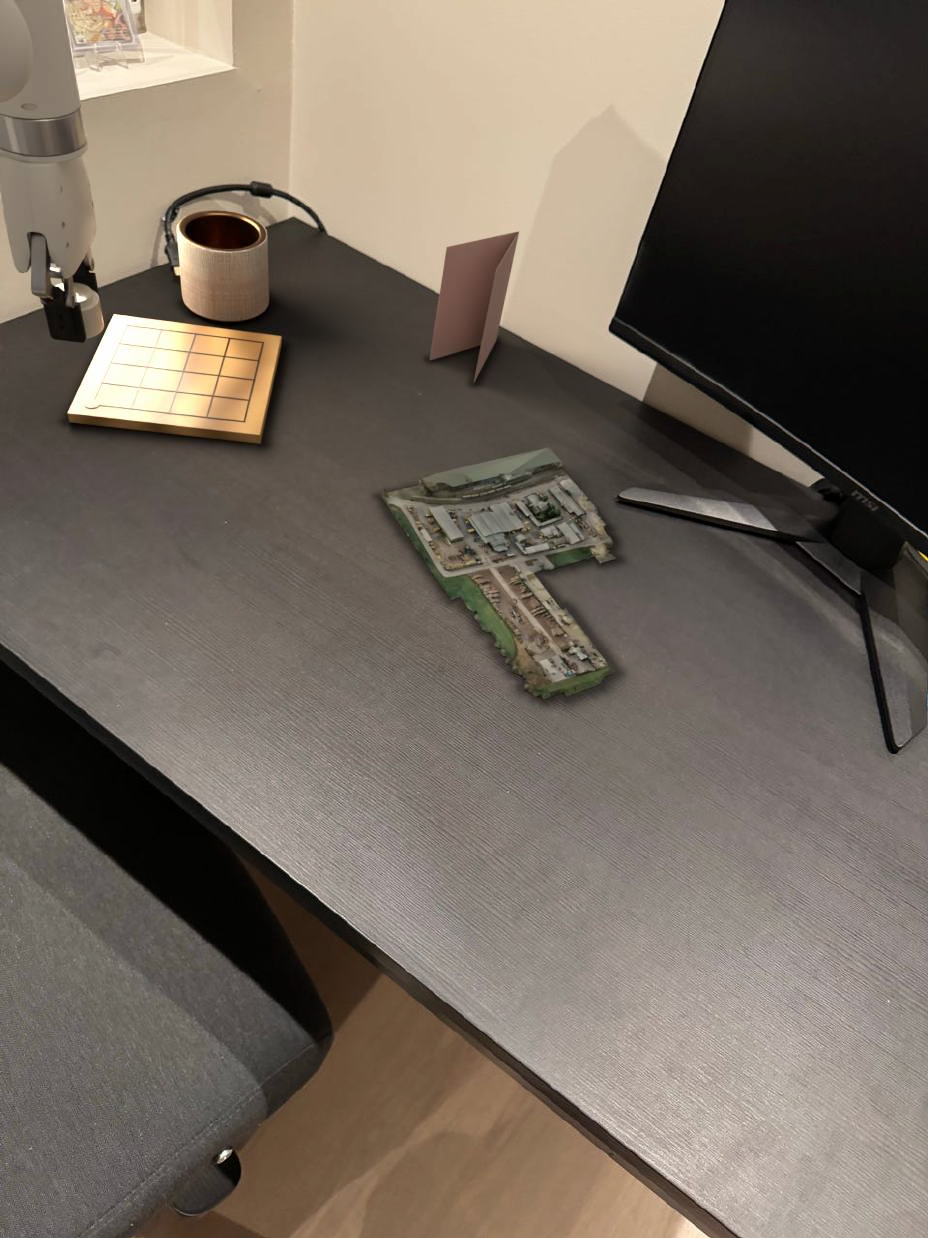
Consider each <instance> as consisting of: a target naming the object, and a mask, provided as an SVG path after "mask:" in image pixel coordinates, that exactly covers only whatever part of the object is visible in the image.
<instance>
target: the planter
mask: <svg viewBox="0 0 928 1238" xmlns="http://www.w3.org/2000/svg"><path fill="white" fill-rule="evenodd" d="M268 237H269V236H268V231H267V229H266V227H265V226H264V225H263V224H262V223H261V222H260V221H258V220H257V219H254V218H253V217H250V216H248V215H245V214H242V213H238V212H235V211H228V210H217V209H216V210H215V209H214V210H212V209H211V210H201V211H196V212H192V213H190V214H187V215H186V216H183V217H182V218H181V219H180V220H179V221H178V223H177V225H176V238H177V248H178V261H179V277H180V289H181V297H182V301H183V304H184V305H185V306H186V308H188V310H190V311H191V312H192V313H194V314H196V315H197V316H199V317H201V318H204V319H206V320H209V321H213V322H218V323H230V324H232V323H234V324H235V323H243V322H246V321H250V320H252V319H256V318H257V317H259V316H260V315H262V314H263V313H264V312H265V311H266V310H267V308H268V306H269V303H270V280H269V243H268V241H269V239H268Z"/></svg>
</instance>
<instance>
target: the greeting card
mask: <svg viewBox="0 0 928 1238" xmlns="http://www.w3.org/2000/svg"><path fill="white" fill-rule="evenodd" d="M519 235H520V230H519V231H513V232H509V233H504V234H499V235H495V236H490V237H485V238H482V239H478V240H472V241H468V242H463V243H459V244H454V245H449V246H446V250H445V255H444V260H443V261H444V262H443V266H442V267H443V268H442V273H441V274H442V275H441V280H440V281H441V282H440V288H439V296H438V302H437V308H436V309H437V310H436V315H435V323H434V329H433V334H432V335H433V336H432V344H431V349H430V356H429V361H432V360H436V359H439V358H440V359H441V358H443V357H445V356H446V357H447V356H449V355H452V354H457V353H459V352H462V351H466V350H470V349H473V348H476V347H479V346H480V348H479V353H478V357H477V363H476V369H475V372H474V373H475V374H474V377H473V378H474V379H473V383H476V380H477V378H478V376H479V374H480V372H481V370H483V369H482V368H483V367H484V365H485V363H486V361H487V359H488V357H489V355H490V354H491V351H492V350H493V348H494V345H495V344H496V342H497V339H498V334H499V330H500V326H501V320H502V314H503V310H504V306H505V302H506V297H507V291H508V287H509V282H510V278H511V273H512V268H513V263H514V258H515V253H516V249H517V244H518V240H519Z"/></svg>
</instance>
